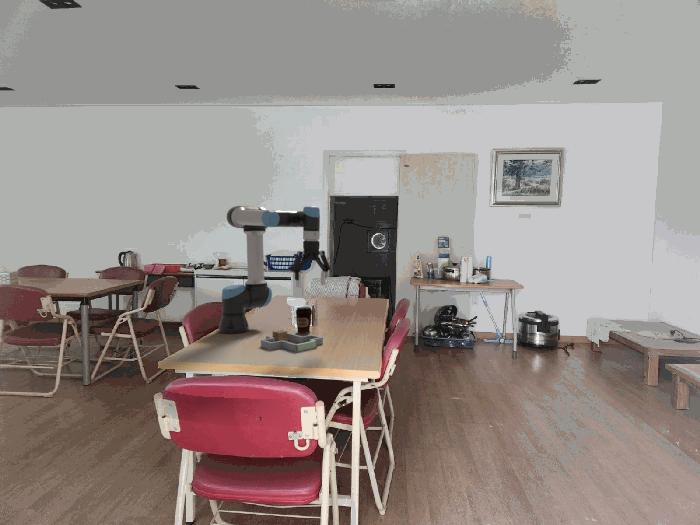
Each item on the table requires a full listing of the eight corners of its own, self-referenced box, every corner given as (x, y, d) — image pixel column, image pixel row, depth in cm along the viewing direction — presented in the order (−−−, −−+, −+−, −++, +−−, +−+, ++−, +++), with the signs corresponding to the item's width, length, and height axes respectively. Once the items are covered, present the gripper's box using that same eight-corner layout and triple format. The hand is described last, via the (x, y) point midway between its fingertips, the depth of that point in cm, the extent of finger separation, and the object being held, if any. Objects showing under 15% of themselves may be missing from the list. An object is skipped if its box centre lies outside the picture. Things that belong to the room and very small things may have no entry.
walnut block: (272, 341, 226) (272, 331, 226) (281, 339, 229) (281, 329, 229) (278, 343, 222) (278, 333, 222) (287, 341, 226) (287, 331, 225)
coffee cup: (309, 335, 240) (309, 309, 239) (293, 334, 241) (293, 308, 240) (314, 331, 248) (314, 306, 247) (298, 330, 250) (298, 305, 249)
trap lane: (254, 344, 220) (254, 338, 219) (296, 336, 236) (296, 330, 236) (284, 354, 203) (284, 347, 203) (327, 345, 220) (327, 338, 220)
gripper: (292, 240, 209) (292, 289, 210) (338, 240, 224) (337, 285, 226) (283, 240, 215) (283, 287, 216) (328, 239, 230) (328, 283, 232)
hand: (311, 286), depth 221 cm, fingers open, 13 cm apart
